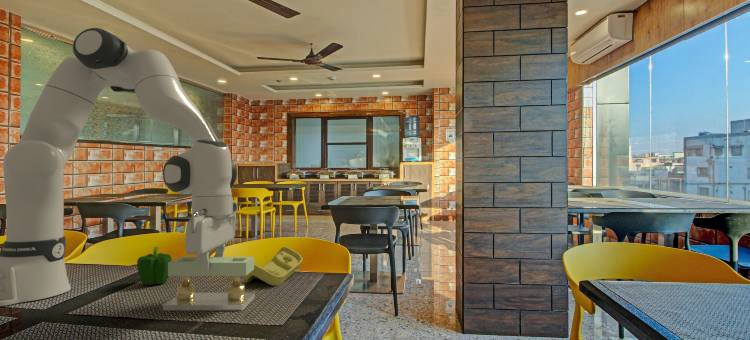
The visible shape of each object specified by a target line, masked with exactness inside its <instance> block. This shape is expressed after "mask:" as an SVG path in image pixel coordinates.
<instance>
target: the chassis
mask: <svg viewBox="0 0 750 340" xmlns="http://www.w3.org/2000/svg"><path fill="white" fill-rule="evenodd" d="M195 286H196V285H195V284H194V283H191V276H181V284H179V285H177V286H176V296H175V297H173V298H172V299H170V300H169V301H167V302H165V303H164V304H162V311H243V310H244V309H246V307H247V306H249V304H250V303H251V302H253V300H254V299H255V298H256V293H255V292H245V291H246V290H245V289H246V284H245V283H241V276H232V284H229V285H227V292H195V291H196V290H195V289H196V287H195Z"/></svg>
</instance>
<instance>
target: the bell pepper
mask: <svg viewBox="0 0 750 340" xmlns="http://www.w3.org/2000/svg"><path fill="white" fill-rule="evenodd" d="M159 249H160V247H158V246H154V248H153V253H149V254H146V255H143V256H139V257H138V259H137V261H136V263H137V264H136V268H137V273H138V275H139V279H140V282H141V284H143V285H144V286H154V285H162V284H165V283H166V282H167V281H168V280H169V277H170V276H168V263H169V262H171V261H173V260H172V256H171V254H170V253H168V254H167V253H162V252H159V253H158V250H159Z"/></svg>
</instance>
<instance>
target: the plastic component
mask: <svg viewBox="0 0 750 340" xmlns="http://www.w3.org/2000/svg"><path fill="white" fill-rule="evenodd" d="M303 260H304V259H303V257H302V255H301V254H300V253H299V252H297V251H296V250H294V249H291V248H290V247H288V246H283V247H280V249H279V250H278V252H277V253H276V254H275V255H274V256H273V257H272V258H271V260H270V261H268V262H267V263H266V264H264V265H262V266H260V265H258V264H254V270H252V271H251V272H250V273H249V274H248V275H246V276H243V279H242V282H243V284H248V283H251V282H252V281H253V280H255V279H256V278H257V279H259V280H261V281H262V282H265V284H268V285H270V286H273V287H276V286H281V285H282V284H283V283H284V282H285V281H287V280H288V279H290V277H291V276H293V275H294V274H295V272H296V270H297V269H298V268H300V265H301V264H302V263H303Z"/></svg>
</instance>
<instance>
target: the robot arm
mask: <svg viewBox="0 0 750 340" xmlns="http://www.w3.org/2000/svg"><path fill="white" fill-rule="evenodd" d="M72 52H73V54H74V55H72V56H68V57H66V58H64V59H63V60H62V61H61V63H59V65H58V66H57V67H56V68H55V70H54V71H53V73H52V74H51V76H50V77H49V79H48V81H47V82H46V84H45V86H44V87H43V90H42V91H41V94H40V95H39V97H38V99H37V101H36V102H35V105H34V106H33V109H32V110H31V112H30V115H29V118H28V120H27V123H26V125H25V127H24V130H23V132H22V134H21V137H20V139H19V141H18V143H16V144H13V146H11V147H10V148H9V149H8V150H7V151H6V153H5V155H4V156H3V162H2V164H3V185H4V195H5V207H6V208H5V209H6V213H5V215H6V223H5V224H6V228H5V231H6V232H5V233H6V234H5V235H6V238H5V239H6V240H5V241H4V242H3V243H0V307H3V306H9V305H10V306H11V305H14V304H20V303H25V302H32V301H38V300H43V299H47V298H51V297H55V296H58V295H62V294H64V293H67V292H69V291H70V290H71V289H72V286H71V284H70V281H69V278H68V277H69V276H68V274H67V268H66V261H65V253H66V250H67V249H66V245H67V243H66V242H67V240H66V236H65V235H64V231H65V230H64V229H65V228H64V225H65V224H64V220H65V219H64V215H65V212H64V211H65V210H64V208H65V202H64V170H65V168H66V166H67V163H68V162H69V159H70V157H71V154H73V150H74V149H75V146H76V144H77V142H78V140H79V138H80V136H81V133H82V132H83V129H84V127H85V125H86V123H87V121H88V119H89V117H90V115H91V113H92V111H93V108H94V106H95V105H96V102H97V100H98V97H99V95H100V94H101V92H102V91H103V90H104V89H107V88H109V87H110V89H111V90H112V91H113V92H115V93H122V92H124V93H125V92H126V93H131V94H135V96H136V99H137V101H138V104H139V106H140V107H141V109H142V110H143V112H144V113H145V114H146V115H147V116H149V117H150V118H151V119H154V120H155V121H159V122H161V123H164V124H166V125H170V126H172V127H175V128H177V129H179V130H181V131H182V132H184V133H186V134H187V135H188V136H189V137H190V138H191V140H192V141H193V144H192V146H191V147H190V148H189V149H187V150H186V151H184V152H182V153H180V154H177V155H173V156H171V157H169V158H168V159H167V160H166V162H165V164H164V165H163V170H162V178H163V182H164V185H165V186H166V187H167V188H168V190H170V191H171V192H173V193H179V194H190V193H191V217H190V219H189V220H188V221H187V225H186V229H185V242H184V250H185V253H186V254H187V255H197V256H196V257H198V259H199V261H200V269H201V270H208V269H210V268H211V261H209V257H210V251H211V250H213V249H215V253H214V255H213V257H224V253H225V250H226V246H227V245H226V243H228V242H230V241H232V240H234V237H235V235H236V223H237V217H236V213H237V212H238V209H239V207H238V206H239V205H238V203H237V202H235V201H234V200H233V193H232V192H233V191H232V188H233V186H234V185H235V183H236V181H237V177H238V169H237V165H236V164H235V162H234V160H233V159H232V155H231V150H230V147H229V145H228V144H226V142H222V141H220V140H219V139H218V137H217V134H216V133H215V131H214V129H213V128H212V126H211V123H210V122H209V120H208V119H207V117H206V116H205V114H204V113H203V111H202V110H201V109H200V108H199V107H198V106H196V104H195V103H194V102H193V101H192V100H191V99H190V97H189V96H188V95H187V93H186V91H185V90H184V88H183V86H182V83H181V81H180V79H179V76H178V74H177V73H176V70H175V69H174V66H173V65H172V63H171V61H170V60H169V59H168V57H167V56H166V55H165V54H164V53H163V52H161V51H159V50H155V49H149V48H148V49H142V50H139V51H136V50H135V49H134V48H132V47H131V46H129V45H127V43H126V42H125V41H124V40H122V39H120V38H119V37H118V36H116V35H115V34H113V33H111V32H109V31H107V30H105V29H103V28H100V27H90V28H87V29H84V30H83V31H81V32H79V33H78V34H77V35H76V36H75V38H74V41H73V44H72Z"/></svg>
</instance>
